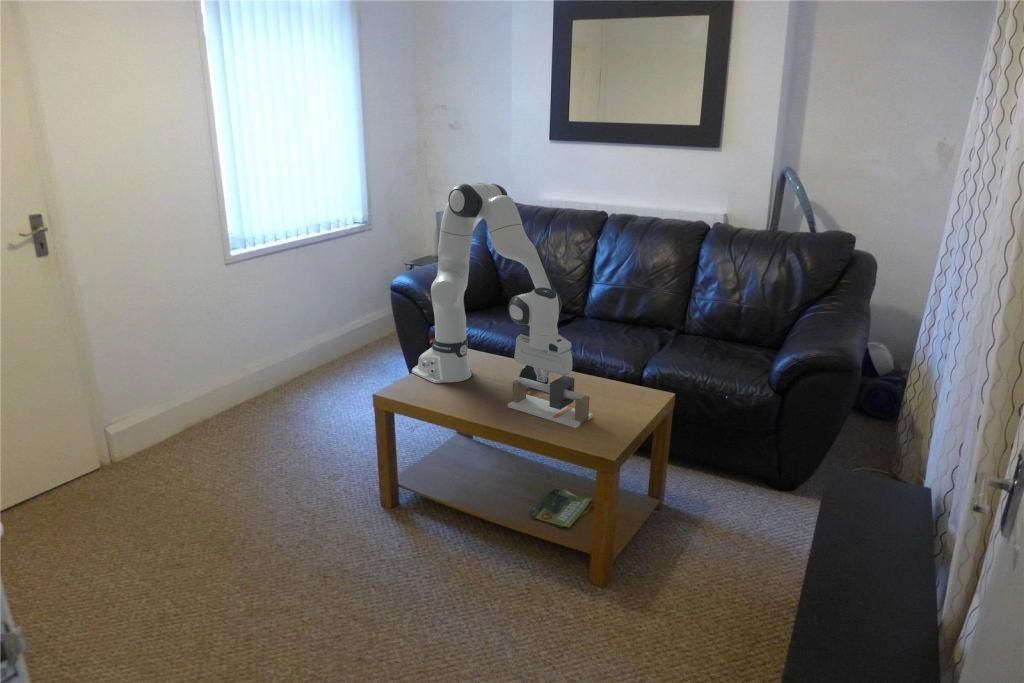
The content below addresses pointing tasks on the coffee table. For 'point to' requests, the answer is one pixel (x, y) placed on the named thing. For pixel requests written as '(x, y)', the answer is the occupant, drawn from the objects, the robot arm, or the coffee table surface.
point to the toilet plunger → (530, 375)
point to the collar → (560, 392)
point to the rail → (541, 406)
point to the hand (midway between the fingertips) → (541, 381)
